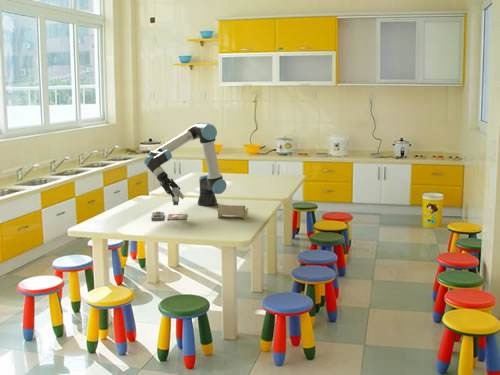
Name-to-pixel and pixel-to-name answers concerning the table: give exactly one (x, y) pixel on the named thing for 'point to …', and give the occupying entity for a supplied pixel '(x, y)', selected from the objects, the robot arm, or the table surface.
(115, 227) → the table surface
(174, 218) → the walnut pad
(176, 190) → the brick
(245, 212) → the toy sofa
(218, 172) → the robot arm
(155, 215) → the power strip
